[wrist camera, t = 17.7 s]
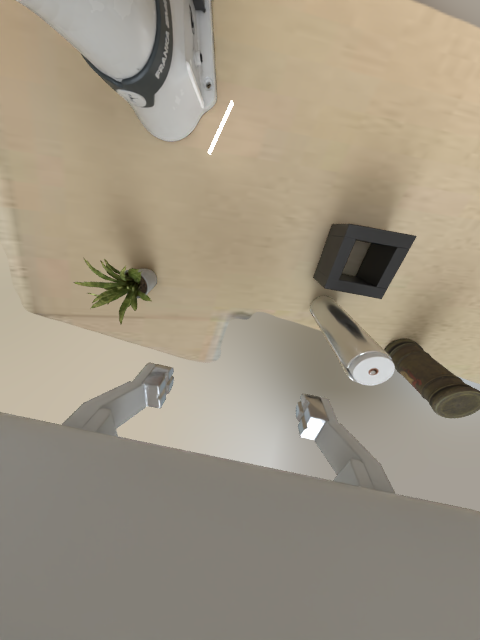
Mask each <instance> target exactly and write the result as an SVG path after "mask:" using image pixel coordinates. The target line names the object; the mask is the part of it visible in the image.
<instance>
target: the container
mask: <svg viewBox="0 0 480 640" xmlns="http://www.w3.org/2000/svg"><path fill="white" fill-rule="evenodd" d="M385 351H386V352H387V353H388V354H389V356H390V357H391V358H392V360H391V361H392V362H393V363H394V366H395V369H396V370H397V371H398V372H399V373H400V374H401V375H403V376H404V377H405V378H406V379H407V380H408V381H409V383H410V384H411V385H412V386H413V387H414V388H415V389H416V390H417V391H418V392H419V393H420V394H421V395H422V397H423V398H425V399H426V400H427V401H428V402H429V404H430V405H431V407H432V409H433V410H434V412H435V413H437V414H438V415H440V416H442V417H445V418H461V417H465V416H468V415H471V414H473V413H475V412H476V411H478V410H479V409H480V391H479V390H477V389H475V388H472V387H471V386H469V385H467V384H465V383H464V382H463V381H462V380H461V379H460V378H459V377H457V376H455V375H454V374H452V373H451V372H450V371H448V370H447V369H446V368H445V367H443V366H442V365H441V364H439V363H438V362H437V361H435V360H434V359H433V358H432V357H431V356H430V355H429V354H428V353H426V352H425V351H423V349H422V347H421V346H419V345H418V344H417V343H416V342H414V341H412V340H409V339H400V340H396V341H394V342H392V343H391V344H390V345H388V346H387V348H386V349H385Z"/></svg>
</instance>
